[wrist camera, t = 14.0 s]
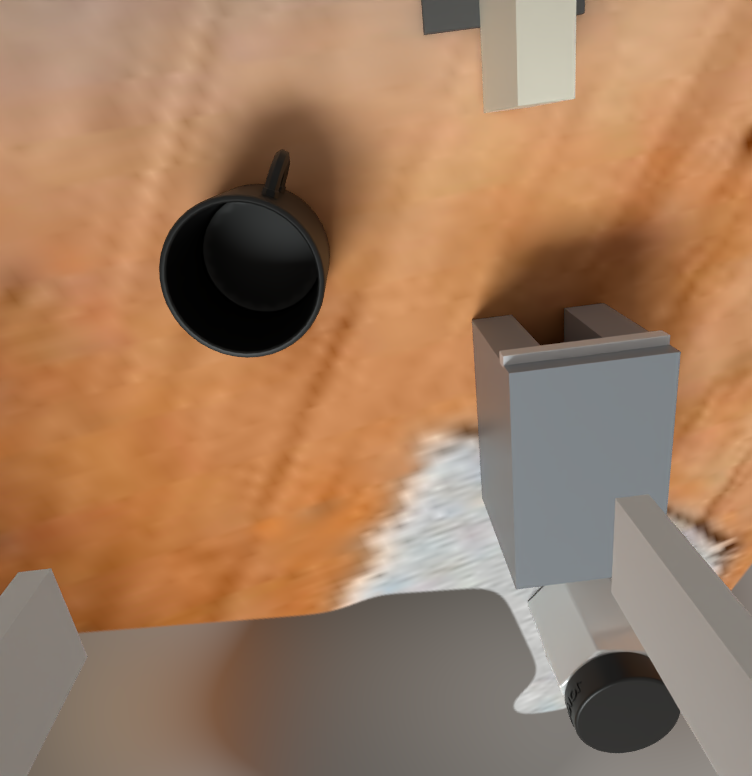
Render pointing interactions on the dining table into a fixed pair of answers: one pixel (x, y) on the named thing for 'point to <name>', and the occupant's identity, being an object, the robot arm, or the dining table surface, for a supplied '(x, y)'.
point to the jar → (602, 667)
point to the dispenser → (571, 437)
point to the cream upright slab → (527, 52)
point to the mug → (247, 267)
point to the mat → (458, 15)
